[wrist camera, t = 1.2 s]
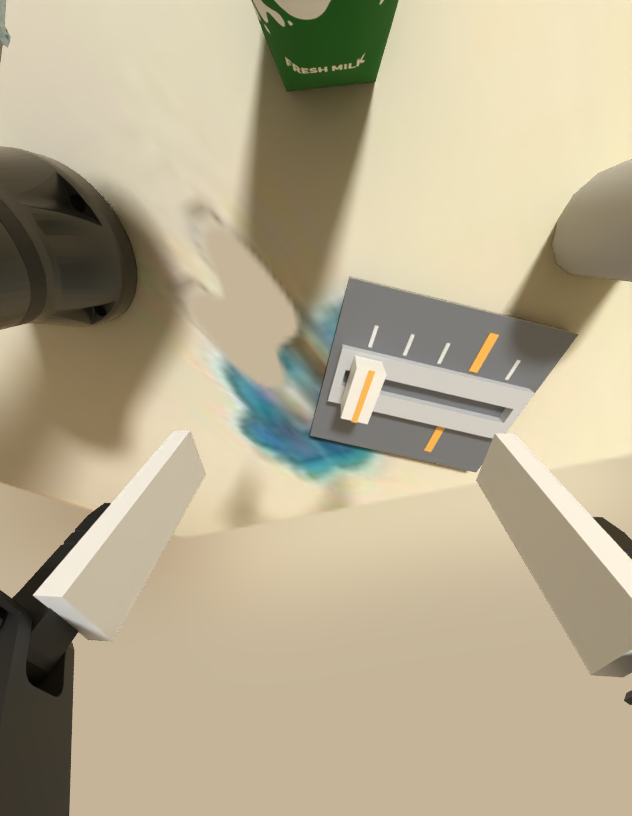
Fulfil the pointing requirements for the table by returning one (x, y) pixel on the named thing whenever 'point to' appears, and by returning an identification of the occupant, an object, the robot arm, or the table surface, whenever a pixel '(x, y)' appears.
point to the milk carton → (326, 39)
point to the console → (434, 373)
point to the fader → (362, 389)
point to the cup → (598, 227)
